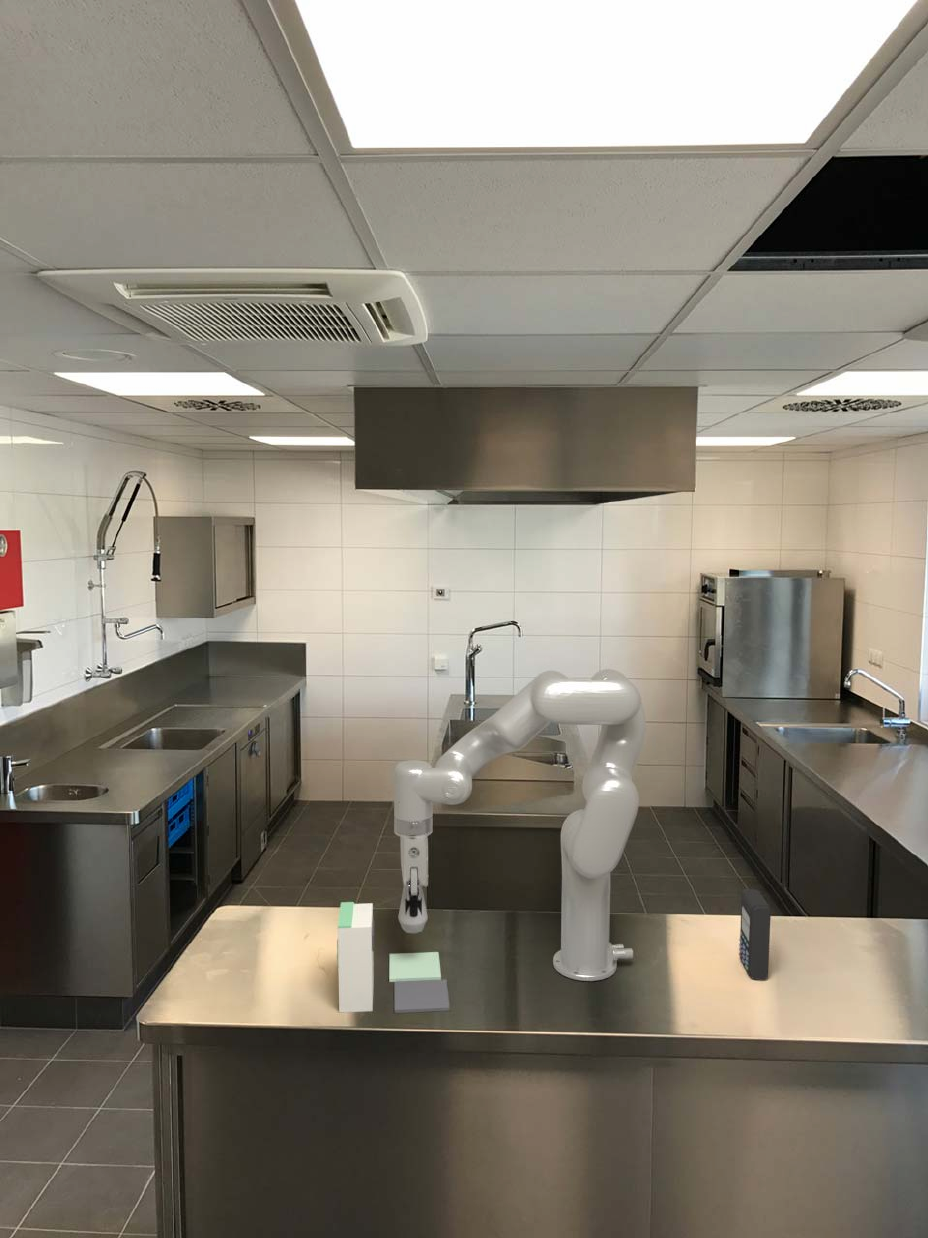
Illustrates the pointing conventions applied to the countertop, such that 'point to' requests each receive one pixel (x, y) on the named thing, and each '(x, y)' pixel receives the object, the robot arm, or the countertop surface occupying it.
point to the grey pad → (421, 996)
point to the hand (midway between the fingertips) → (413, 913)
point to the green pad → (414, 966)
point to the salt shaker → (407, 921)
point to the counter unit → (355, 957)
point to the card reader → (755, 934)
